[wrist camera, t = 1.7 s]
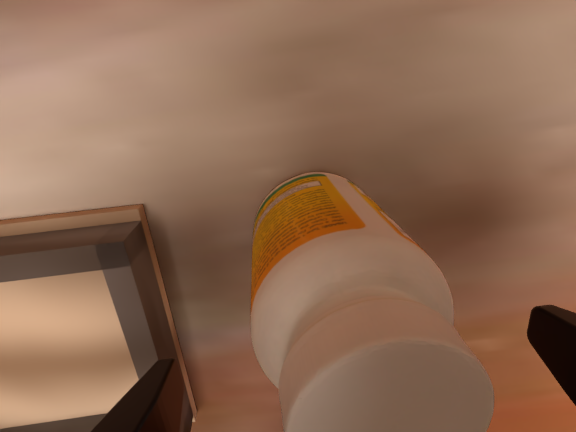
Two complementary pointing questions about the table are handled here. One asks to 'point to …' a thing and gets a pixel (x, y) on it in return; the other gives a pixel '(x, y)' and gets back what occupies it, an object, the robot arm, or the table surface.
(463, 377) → the supplement bottle
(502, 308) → the table surface
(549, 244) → the table surface
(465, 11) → the table surface
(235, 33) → the table surface
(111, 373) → the grey flat frame
